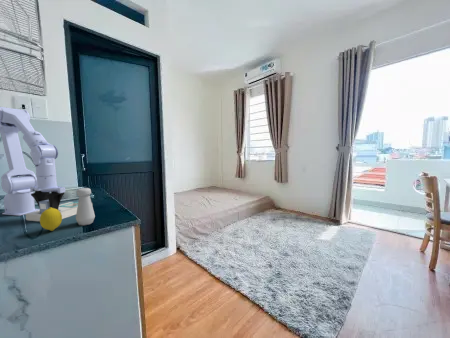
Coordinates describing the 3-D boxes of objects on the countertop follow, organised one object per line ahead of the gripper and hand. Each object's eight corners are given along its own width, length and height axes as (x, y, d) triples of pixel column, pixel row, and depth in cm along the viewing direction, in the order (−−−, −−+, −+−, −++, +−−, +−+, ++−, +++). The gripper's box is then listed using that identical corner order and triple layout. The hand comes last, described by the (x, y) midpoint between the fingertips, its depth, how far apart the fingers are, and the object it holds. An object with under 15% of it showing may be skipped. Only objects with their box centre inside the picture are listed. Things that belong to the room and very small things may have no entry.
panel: (26, 220, 76) (25, 213, 76) (71, 207, 93) (70, 201, 93) (51, 222, 74) (51, 215, 73) (92, 208, 91) (92, 202, 91)
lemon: (49, 227, 69) (47, 205, 68) (66, 227, 69) (65, 205, 68) (36, 234, 63) (33, 210, 62) (54, 234, 64) (52, 209, 63)
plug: (39, 219, 77) (38, 201, 76) (51, 215, 81) (49, 199, 80) (48, 220, 76) (46, 202, 75) (59, 216, 80) (57, 199, 79)
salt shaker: (85, 226, 70) (83, 190, 68) (71, 225, 71) (69, 189, 69) (99, 221, 75) (97, 187, 74) (86, 220, 76) (84, 186, 75)
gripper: (19, 176, 74) (22, 211, 76) (50, 177, 72) (53, 214, 73) (40, 174, 81) (43, 206, 83) (69, 175, 79) (71, 208, 80)
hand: (49, 209), depth 78 cm, fingers open, 5 cm apart
